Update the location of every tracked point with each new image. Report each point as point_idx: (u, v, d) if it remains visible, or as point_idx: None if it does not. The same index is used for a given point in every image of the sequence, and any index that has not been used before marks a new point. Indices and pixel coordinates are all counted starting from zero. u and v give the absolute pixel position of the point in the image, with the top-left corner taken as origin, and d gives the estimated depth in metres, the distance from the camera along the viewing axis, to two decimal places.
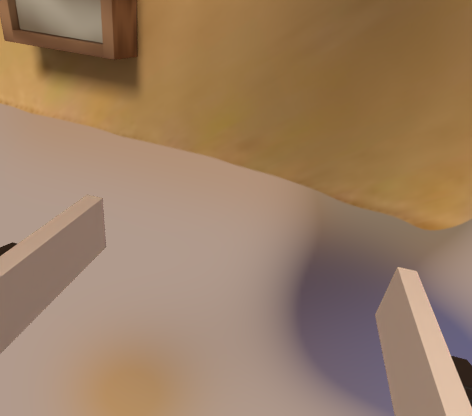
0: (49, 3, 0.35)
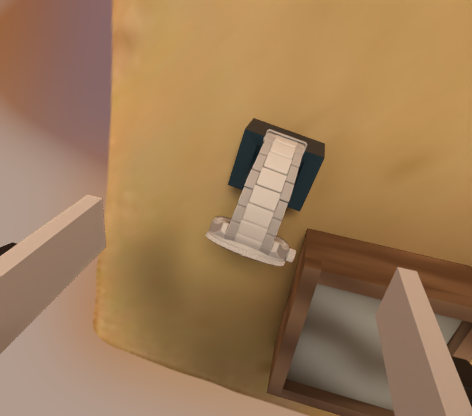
0: (337, 371, 0.29)
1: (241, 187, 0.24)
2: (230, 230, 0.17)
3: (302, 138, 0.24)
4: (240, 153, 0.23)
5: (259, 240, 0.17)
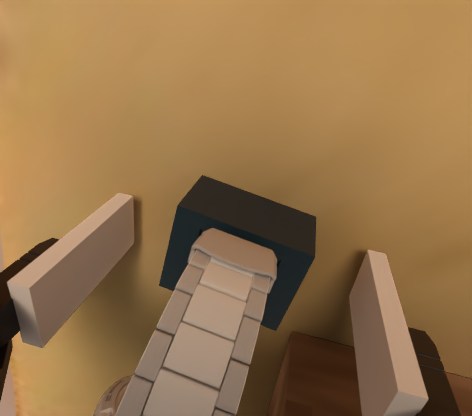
0: None
1: None
2: None
3: (279, 211, 0.15)
4: (173, 242, 0.14)
5: None
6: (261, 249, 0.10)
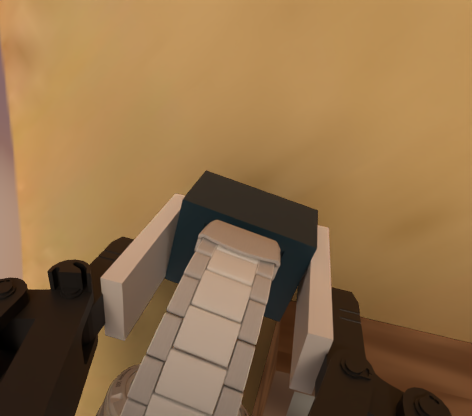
0: None
1: None
2: None
3: (282, 204, 0.15)
4: (179, 235, 0.14)
5: None
6: (265, 239, 0.10)
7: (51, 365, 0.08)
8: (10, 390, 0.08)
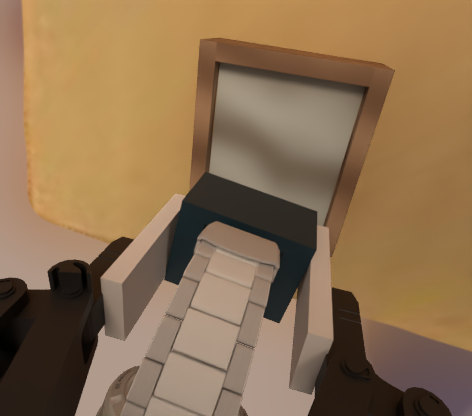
0: None
1: None
2: None
3: (281, 205, 0.15)
4: (178, 236, 0.14)
5: None
6: (264, 241, 0.10)
7: (52, 365, 0.08)
8: (10, 390, 0.08)
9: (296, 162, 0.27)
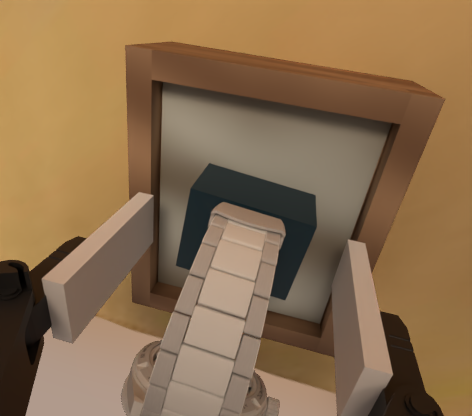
0: None
1: None
2: None
3: (282, 191, 0.16)
4: (188, 223, 0.15)
5: None
6: (270, 216, 0.11)
7: None
8: None
9: None
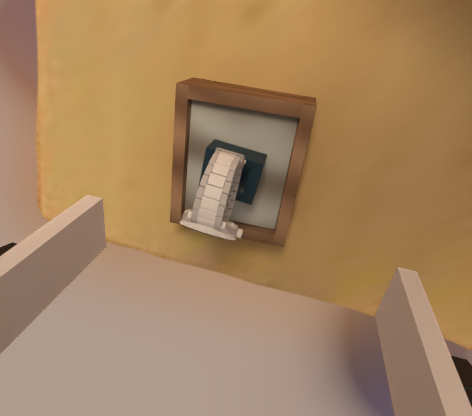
0: None
1: None
2: (193, 215, 0.25)
3: (250, 151, 0.33)
4: (204, 165, 0.32)
5: (212, 220, 0.25)
6: None
7: None
8: None
9: None
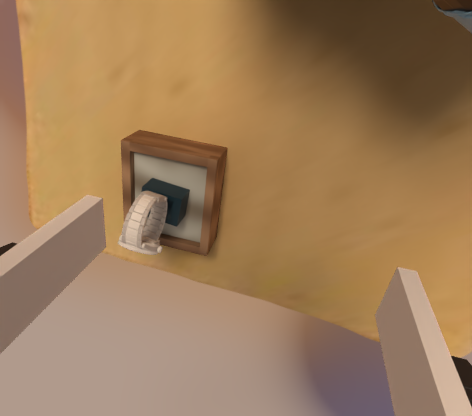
0: None
1: None
2: (122, 239, 0.38)
3: (176, 188, 0.46)
4: None
5: (135, 242, 0.38)
6: (159, 194, 0.41)
7: None
8: None
9: None
